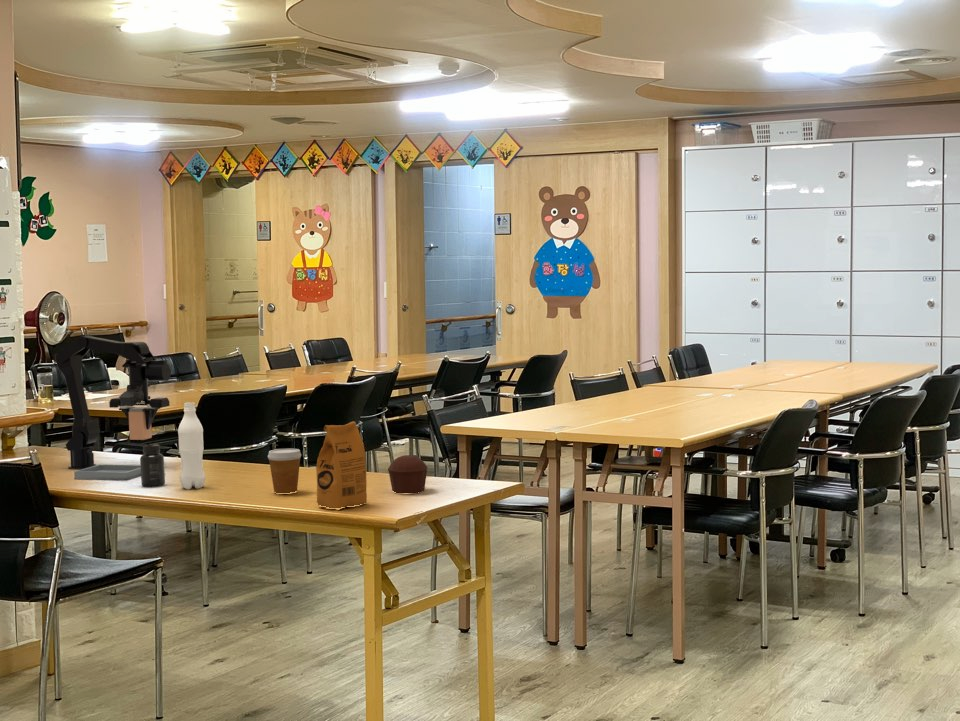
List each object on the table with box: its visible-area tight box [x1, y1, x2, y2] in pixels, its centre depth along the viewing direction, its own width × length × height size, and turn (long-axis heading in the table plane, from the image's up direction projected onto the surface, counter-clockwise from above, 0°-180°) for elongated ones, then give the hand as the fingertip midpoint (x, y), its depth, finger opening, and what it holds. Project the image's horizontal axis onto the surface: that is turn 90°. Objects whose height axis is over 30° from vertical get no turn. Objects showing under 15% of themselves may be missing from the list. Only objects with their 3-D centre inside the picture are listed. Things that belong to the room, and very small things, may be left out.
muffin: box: [387, 454, 429, 494], centre depth 331 cm, size 12×11×10 cm
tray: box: [73, 463, 141, 481], centre depth 369 cm, size 18×14×2 cm
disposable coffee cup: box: [267, 448, 302, 493], centre depth 333 cm, size 10×10×12 cm
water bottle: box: [177, 401, 206, 490], centre depth 344 cm, size 7×7×25 cm
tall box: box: [128, 406, 153, 441], centre depth 381 cm, size 5×5×10 cm
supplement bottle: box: [139, 444, 166, 488], centre depth 350 cm, size 7×7×12 cm
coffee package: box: [315, 421, 368, 508], centre depth 311 cm, size 10×12×22 cm
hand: (140, 429), depth 381 cm, fingers closed on tall box, 5 cm apart
